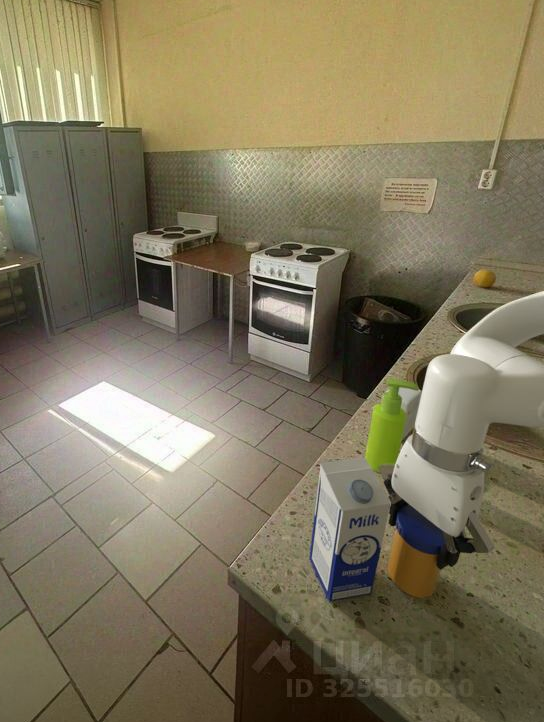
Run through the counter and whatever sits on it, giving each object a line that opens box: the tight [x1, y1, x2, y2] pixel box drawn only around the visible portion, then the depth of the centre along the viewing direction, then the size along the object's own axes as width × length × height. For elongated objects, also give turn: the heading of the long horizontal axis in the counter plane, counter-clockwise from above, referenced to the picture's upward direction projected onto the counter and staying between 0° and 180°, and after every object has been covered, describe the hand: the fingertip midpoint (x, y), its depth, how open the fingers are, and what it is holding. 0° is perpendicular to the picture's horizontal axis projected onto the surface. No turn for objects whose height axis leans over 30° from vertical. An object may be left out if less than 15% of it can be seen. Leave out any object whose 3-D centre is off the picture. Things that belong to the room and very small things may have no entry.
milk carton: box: [309, 456, 391, 602], centre depth 58 cm, size 7×7×20 cm
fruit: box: [472, 269, 497, 288], centre depth 183 cm, size 9×8×8 cm
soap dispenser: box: [364, 378, 420, 474], centre depth 79 cm, size 6×7×20 cm
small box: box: [380, 388, 422, 442], centre depth 91 cm, size 8×6×10 cm
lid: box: [395, 504, 445, 555], centre depth 57 cm, size 7×7×2 cm
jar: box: [386, 527, 442, 599], centre depth 59 cm, size 7×7×10 cm
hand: (419, 541), depth 58 cm, fingers closed on lid, 6 cm apart
